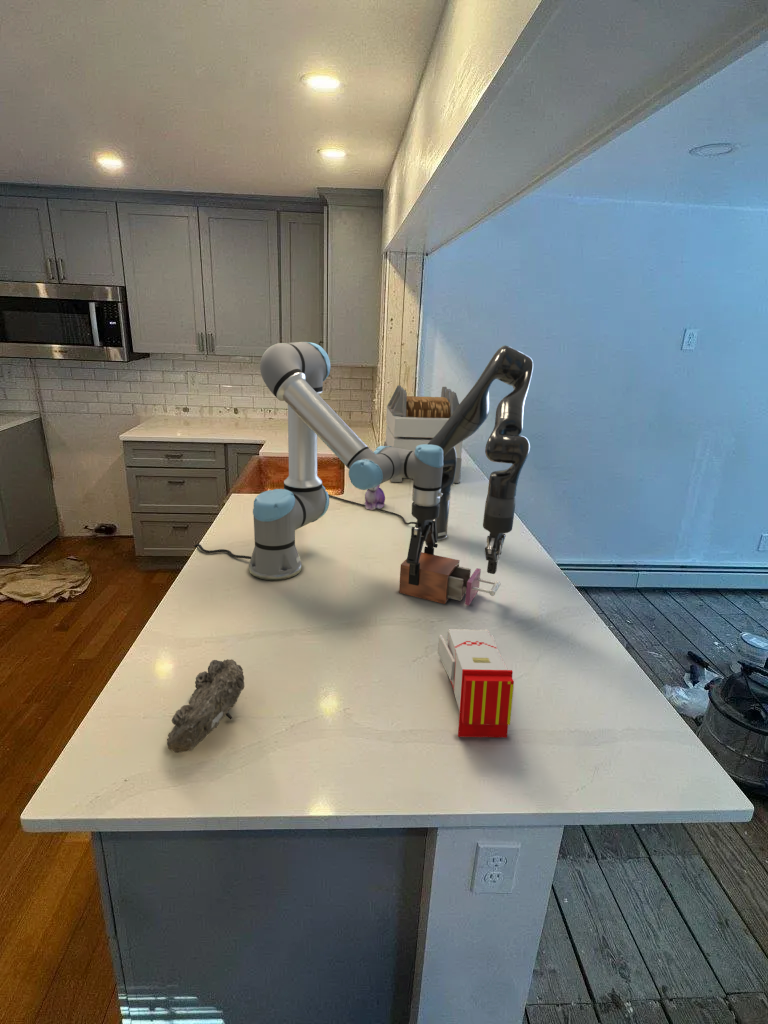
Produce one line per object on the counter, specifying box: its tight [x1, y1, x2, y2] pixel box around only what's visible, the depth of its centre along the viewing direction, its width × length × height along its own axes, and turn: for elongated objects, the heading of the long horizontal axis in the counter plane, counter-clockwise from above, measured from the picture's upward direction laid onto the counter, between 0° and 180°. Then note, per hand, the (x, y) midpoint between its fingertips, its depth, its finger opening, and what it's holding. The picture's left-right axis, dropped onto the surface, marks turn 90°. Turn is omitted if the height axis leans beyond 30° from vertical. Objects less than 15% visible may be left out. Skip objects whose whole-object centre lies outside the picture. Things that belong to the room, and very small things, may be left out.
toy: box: [437, 628, 515, 738], centre depth 117 cm, size 12×13×30 cm
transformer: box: [383, 384, 464, 484], centre depth 268 cm, size 34×33×41 cm
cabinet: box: [398, 551, 460, 605], centre depth 159 cm, size 14×11×9 cm
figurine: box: [363, 484, 386, 511], centre depth 223 cm, size 9×10×15 cm
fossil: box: [166, 658, 245, 754], centre depth 106 cm, size 22×10×15 cm
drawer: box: [447, 565, 501, 606], centre depth 156 cm, size 18×10×7 cm, turn 66°
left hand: (420, 575), depth 160 cm, fingers closed on cabinet, 11 cm apart
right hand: (491, 572), depth 151 cm, fingers closed
